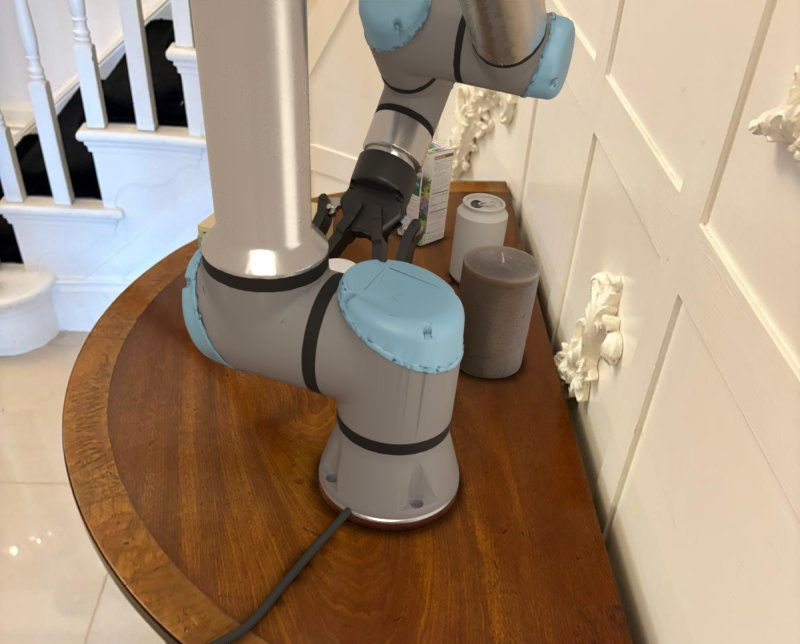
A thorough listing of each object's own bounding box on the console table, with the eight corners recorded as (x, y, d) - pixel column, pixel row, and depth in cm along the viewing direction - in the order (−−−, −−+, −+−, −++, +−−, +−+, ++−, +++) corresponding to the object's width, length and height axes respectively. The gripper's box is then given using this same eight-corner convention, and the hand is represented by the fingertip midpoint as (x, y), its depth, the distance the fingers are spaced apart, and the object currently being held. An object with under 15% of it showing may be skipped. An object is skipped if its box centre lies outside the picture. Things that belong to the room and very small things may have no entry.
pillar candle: (460, 381, 101) (476, 272, 91) (442, 340, 108) (455, 234, 97) (531, 377, 103) (556, 270, 92) (509, 337, 110) (529, 233, 99)
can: (451, 264, 124) (460, 187, 116) (498, 270, 124) (511, 193, 115) (446, 286, 119) (456, 207, 110) (495, 293, 118) (509, 214, 110)
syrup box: (396, 234, 130) (402, 141, 120) (421, 225, 133) (430, 134, 123) (419, 247, 127) (428, 153, 117) (445, 238, 131) (456, 146, 120)
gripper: (470, 197, 95) (404, 376, 96) (328, 160, 100) (266, 330, 101) (459, 166, 88) (388, 359, 89) (307, 128, 93) (240, 311, 94)
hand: (323, 344), depth 95 cm, fingers closed on supplement bottle, 7 cm apart
